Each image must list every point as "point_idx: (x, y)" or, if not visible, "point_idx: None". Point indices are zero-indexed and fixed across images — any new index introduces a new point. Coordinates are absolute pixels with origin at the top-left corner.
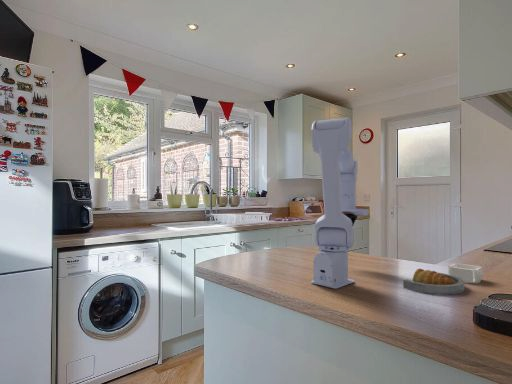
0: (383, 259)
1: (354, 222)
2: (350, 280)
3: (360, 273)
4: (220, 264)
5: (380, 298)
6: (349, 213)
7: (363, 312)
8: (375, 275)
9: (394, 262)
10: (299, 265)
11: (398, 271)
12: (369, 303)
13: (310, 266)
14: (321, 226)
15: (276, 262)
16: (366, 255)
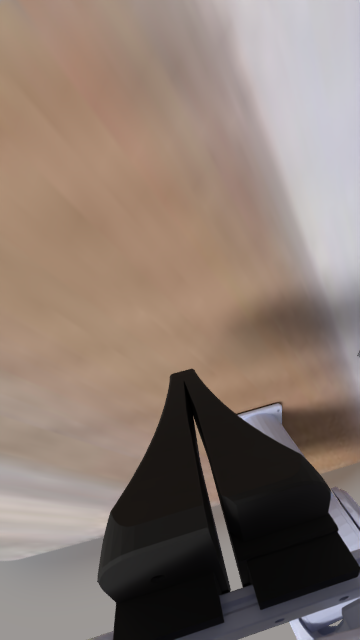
0: (156, 56)
1: (248, 423)
2: (276, 411)
3: (246, 347)
4: (10, 537)
5: (344, 418)
6: (300, 610)
7: (344, 458)
8: (280, 331)
9: (230, 87)
10: (95, 420)
11: (305, 240)
12: (339, 439)
13: (119, 404)
14: (332, 630)
15: (32, 451)
16: (13, 17)
